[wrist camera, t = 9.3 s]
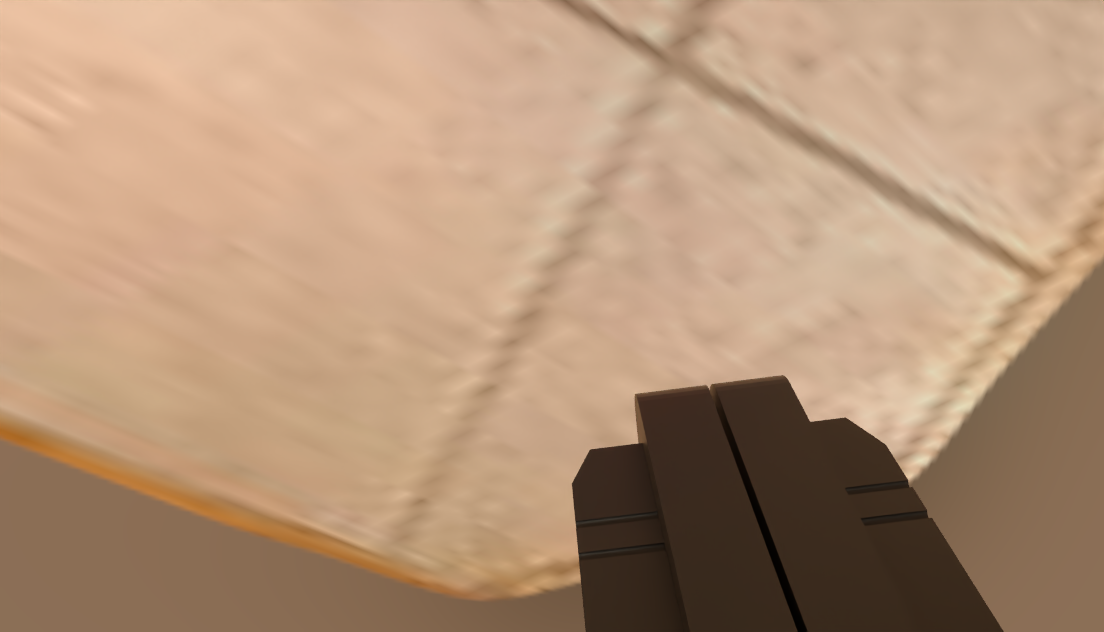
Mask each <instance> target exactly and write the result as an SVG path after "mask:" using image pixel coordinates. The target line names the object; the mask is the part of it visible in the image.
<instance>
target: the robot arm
mask: <svg viewBox="0 0 1104 632" xmlns="http://www.w3.org/2000/svg"><path fill="white" fill-rule="evenodd" d="M635 411H636V422H637V432H638V442H639V444H631V445H623V446H615V447H607V448H599V449H591V450H590V451H589V453H588V455H587V456H586V458H585V460H584V462H583V464H582V466H581V468H580V470H579V472H578V473H577V475H576V477H575V479H574V481H573V483H572V489H573V499H574V510H575V521H576V532H577V542H578V553H579V564H580V575H581V585H582V596H583V607H584V618H585V628H586V632H1003V630H1002V629H1001V627H1000V625H999V624H998V622H997V620H996V619H995V617H994V616H993V614H992V612H991V611H990V609H989V608H988V606H987V605H986V603H985V601H984V600H983V598H982V597H981V595H980V593H979V592H978V591H977V589H976V587H975V586H974V584H973V582H972V581H971V579H970V578H969V576H968V575H967V573H966V571H965V570H964V568H963V567H962V565H961V564H960V562H959V560H958V559H957V557H956V555H955V554H954V552H953V551H952V549H951V547H950V546H949V544H948V543H947V541H946V540H945V538H944V536H943V535H942V533H941V532H940V530H939V529H938V527H937V525H936V524H935V522H934V521H933V519H932V518H928V515H927V509H926V508H925V506H924V505H923V503H922V502H921V500H920V499H919V497H918V495H917V494H916V492H915V490H914V489H913V488H912V487H910V488H909V485H908V479H907V478H906V476H905V475H904V473H903V471H902V470H901V468H900V467H899V465H898V463H897V462H896V460H895V459H894V457H893V455H892V454H891V452H890V451H889V449H888V448H887V446H886V445H885V444H884V443H882V442H881V441H879V440H878V439H877V438H875V437H874V436H872V435H871V434H869V433H868V432H866V431H865V430H863V429H862V428H860V427H859V426H857V425H856V424H854V423H853V422H851V421H850V420H849V419H847V418H839V419H831V420H823V421H814V422H810V421H809V419H808V417H807V415H806V413H805V411H804V409H803V407H802V405H801V404H800V402H799V400H798V398H797V396H796V394H795V392H794V390H793V388H792V386H791V384H790V383H789V381H788V379H787V378H786V377H785V376H783V375H781V376H773V377H765V378H757V379H749V380H741V381H734V382H726V383H718V384H712V385H711V386H710V391H709V388H708V387H707V386H706V385H704V386H696V387H688V388H680V389H672V390H664V391H656V392H648V393H640V394H635Z"/></svg>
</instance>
